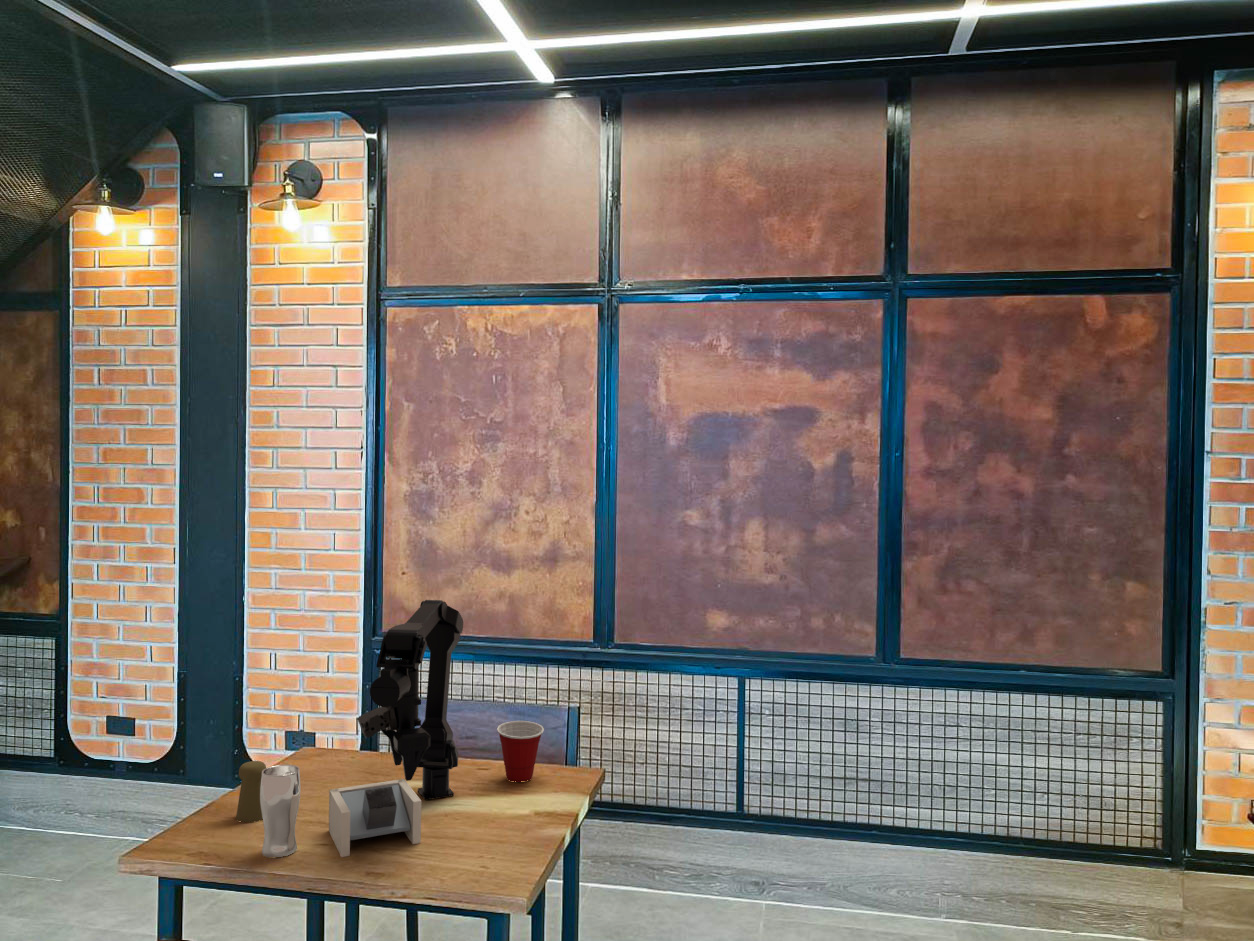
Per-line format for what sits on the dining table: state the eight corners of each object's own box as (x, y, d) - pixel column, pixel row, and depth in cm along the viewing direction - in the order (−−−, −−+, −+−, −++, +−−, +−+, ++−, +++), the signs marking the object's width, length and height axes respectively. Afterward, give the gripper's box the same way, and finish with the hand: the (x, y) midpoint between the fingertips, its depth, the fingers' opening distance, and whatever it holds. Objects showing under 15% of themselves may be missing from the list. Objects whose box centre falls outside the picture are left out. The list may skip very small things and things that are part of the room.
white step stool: (328, 830, 175) (329, 789, 175) (403, 818, 182) (404, 778, 182) (341, 857, 163) (341, 813, 163) (420, 842, 170) (421, 800, 170)
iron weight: (362, 810, 171) (365, 790, 169) (388, 806, 173) (391, 786, 171) (366, 829, 167) (369, 809, 165) (393, 825, 169) (396, 805, 167)
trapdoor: (340, 795, 174) (340, 791, 174) (397, 786, 179) (397, 782, 179) (350, 840, 165) (350, 836, 165) (409, 830, 170) (410, 826, 170)
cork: (274, 814, 183) (275, 760, 183) (250, 824, 177) (251, 769, 178) (252, 809, 185) (253, 756, 186) (228, 819, 180) (229, 764, 180)
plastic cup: (506, 790, 199) (507, 736, 199) (489, 775, 208) (489, 724, 208) (551, 782, 204) (552, 729, 204) (531, 768, 214) (532, 718, 214)
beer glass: (275, 862, 160) (276, 778, 160) (251, 853, 164) (252, 771, 164) (307, 849, 166) (308, 768, 166) (283, 840, 170) (284, 761, 170)
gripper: (352, 686, 180) (352, 763, 180) (371, 710, 163) (370, 795, 163) (408, 680, 185) (407, 755, 185) (431, 703, 168) (430, 785, 168)
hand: (403, 772), depth 175 cm, fingers open, 9 cm apart
